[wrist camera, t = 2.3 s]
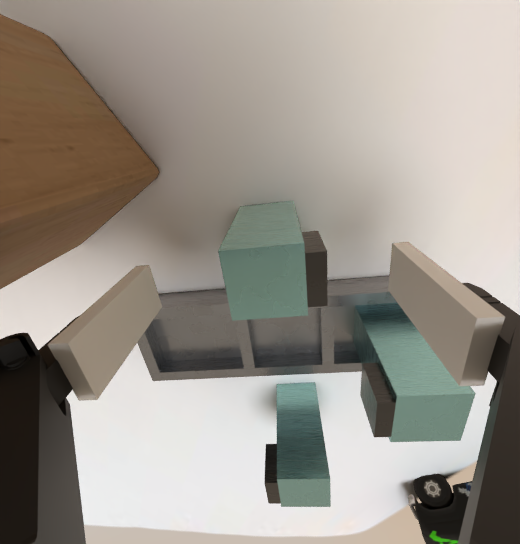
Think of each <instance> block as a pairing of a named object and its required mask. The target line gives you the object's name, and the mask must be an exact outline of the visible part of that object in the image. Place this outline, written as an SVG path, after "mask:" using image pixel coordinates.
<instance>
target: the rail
mask: <svg viewBox="0 0 520 544" xmlns="http://www.w3.org/2000/svg"><path fill="white" fill-rule="evenodd" d="M388 286H389V276H380V277H368V278H355V279H342V280H330V281H327V295H328V306H321V307H308V316H293V317H279V318H264V319H249V320H235V321H232V317H231V312H230V307H229V302H228V297H227V292H226V289H216V290H204V291H191V292H178V293H166V294H158V295H159V298H160V301H161V304H162V308H161V309H160V311H159V312H158V313H157V315H156V316H155V318H154V319H153V321H152V322H151V323H150V325H149V326H148V328H147V329H146V331H145V332H144V333H143V335H142V336H141V338H140V339H139V341H138V342H137V343H138V345H139V348H140V350H141V353H142V355H143V358H144V360H145V363H146V365H147V368H148V370H149V373H150V375H151V378H152V380H153V381H161V380H183V379H205V378H227V377H248V376H270V375H292V374H314V373H336V372H357V371H362V378H361V398H362V401H363V404H364V408H365V411H366V414H367V417H368V420H369V423H370V426H371V429H372V432H373V435H374V437H389V439H390V442H412V441H460V440H461V437H462V434H463V431H464V428H465V425H466V421H467V418H468V415H469V412H470V409H471V406H472V403H473V399H474V396H475V392H474V391H473V390H472V388H471V387H470V386H459V385H458V384H457V382H456V381H455V380H454V378H453V377H452V375H451V374H450V373H449V371H448V370H447V369H446V367H445V366H444V365H443V363H442V362H441V361H440V359H439V358H438V357H437V355H436V354H435V353H434V351H433V350H432V349H431V347H430V346H429V344H428V343H427V342H426V340H425V339H424V338H423V336H422V335H421V334H420V332H419V331H418V330H417V328H416V327H415V326H414V324H413V323H412V322H411V320H410V319H409V318H408V316H407V315H406V314H405V312H404V311H403V309H402V308H401V307H400V305H399V304H398V303H397V301H396V300H395V299H394V297H393V296H392V295H391V293H390V292H389V291H388Z"/></svg>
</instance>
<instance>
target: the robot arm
mask: <svg viewBox="0 0 520 544" xmlns="http://www.w3.org/2000/svg"><path fill="white" fill-rule="evenodd" d="M388 291H389V292H390V293H391V295H392V296H393V297H394V299H395V300H396V301H397V303H398V304H399V305H400V307H401V308H402V309H403V311H404V312H405V314H406V315H407V316H408V318H409V319H410V320H411V322H412V323H413V324H414V326H415V327H416V328H417V330H418V331H419V332H420V334H421V335H422V336H423V338H424V339H425V340H426V342H427V343H428V344H429V346H430V347H431V349H432V350H433V351H434V353H435V354H436V355H437V357H438V358H439V359H440V361H441V362H442V363H443V365H444V366H445V367H446V369H447V370H448V371H449V373H450V374H451V375H452V377H453V378H454V380H455V381H456V382H457V384H458V385H459V386H481V385H484V384H485V380H486V377H487V374H488V371H489V373H490V374H491V375H492V376H493V377H494V378H495V379H496V380H497V383H496V386H495V389H494V392H493V395H492V398H491V401H490V404H489V406H490V410H489V415H488V419H487V423H486V427H485V431H484V435H483V440H482V444H481V448H480V452H479V456H478V460H477V465H476V469H475V473H474V478H473V481H472V486H471V490H470V494H469V498H468V502H467V506H466V511H465V515H464V519H463V523H462V527H461V531H460V536H459V540H458V544H520V315H518V314H517V313H515V312H514V311H513V310H511V309H510V308H508V307H507V306H506V305H504V304H503V303H500V301H499V300H497V299H496V298H495V297H492V295H490V294H489V293H488V292H486V291H485V290H483V289H482V288H480V287H477V286H475V285H472V284H470V283H461V282H459V281H458V280H457V279H456V278H454V277H453V276H452V275H450V274H449V273H448V272H446V271H445V270H444V269H443V268H441V267H440V266H439V265H437V264H436V263H435V262H433V261H432V260H431V259H430V258H428V257H427V256H426V255H424V254H423V253H422V252H421V251H419V250H418V249H417V248H415V247H414V246H413V245H411V244H410V243H409V242H400V243H392V252H391V263H390V275H389V286H388ZM161 308H162V304H161V301H160V298H159V295H158V292H157V288H156V285H155V282H154V279H153V276H152V273H151V269H150V266H149V265H144V266H136V267H135V268H134V269H132V270H131V271H130V272H129V273H128V274H127V275H126V276H125V277H123V278H122V279H121V280H120V281H119V282H118V283H117V284H115V285H114V286H113V287H112V288H111V289H110V290H109V291H108V292H106V293H105V294H104V295H103V296H102V297H101V298H100V299H98V300H97V301H96V302H95V303H94V304H93V305H92V306H91V307H89V308H88V309H87V310H86V311H85V312H84V313H83V314H81V315H80V316H78V317H77V318H75V319H74V320H73V321H72V322H70V323H69V324H68V325H67V327H65V328H64V329H62V330H61V331H60V333H58V334H57V335H56V336H54V337H53V338H52V339H51V340H50V341H49V342H48V343H46V344H45V345H44V346H43V347H42V348H41V349H40V350H38V349H37V348H36V346H35V344H34V343H33V341H32V339H31V337H30V336H29V334H28V333H18V334H14V335H10V336H7V337H5V338H3V339H0V544H86V541H85V533H84V523H83V515H82V506H81V497H80V489H79V480H78V471H77V463H76V454H75V445H74V437H73V428H72V419H71V411H70V404H69V402H68V400H67V399H66V397H67V395H68V394H69V393H70V392H71V391H72V389H73V391H74V393H75V395H76V396H77V398H78V400H97V399H98V398H99V396H100V395H101V394H102V392H103V391H104V389H105V388H106V386H107V385H108V384H109V382H110V381H111V379H112V378H113V376H114V375H115V374H116V372H117V371H118V369H119V368H120V366H121V365H122V364H123V362H124V361H125V359H126V358H127V356H128V355H129V353H130V352H131V351H132V349H133V348H134V346H135V345H136V343H137V342H138V341H139V339H140V338H141V336H142V335H143V333H144V332H145V331H146V329H147V328H148V326H149V325H150V323H151V322H152V321H153V319H154V318H155V316H156V315H157V313H158V312H159V311H160V309H161Z"/></svg>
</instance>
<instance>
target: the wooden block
mask: <svg viewBox="0 0 520 544" xmlns="http://www.w3.org/2000/svg"><path fill="white" fill-rule="evenodd" d="M158 174H159V171H158V169H157V167H156V166H155V165H154V163H153V162H152V161H151V160H150V159H149V157H148V156H147V155H146V154H145V152H144V151H143V150H142V149H141V148H140V146H139V145H138V144H137V143H136V142H135V140H134V139H133V138H132V137H131V135H130V134H129V133H128V132H127V131H126V129H125V128H124V127H123V126H122V124H121V123H120V122H119V121H118V120H117V118H116V117H115V116H114V115H113V114H112V112H111V111H110V110H109V109H108V107H107V106H106V105H105V104H104V103H103V101H102V100H101V99H100V98H99V96H98V95H97V94H96V93H95V92H94V90H93V89H92V88H91V87H90V86H89V84H88V83H87V82H86V81H85V79H84V78H83V77H82V76H81V75H80V73H79V72H78V71H77V70H76V68H75V67H74V66H73V65H72V64H71V62H70V61H69V60H68V59H67V58H66V56H65V55H64V54H63V53H62V51H61V50H60V49H59V48H58V47H57V45H56V44H55V43H54V42H53V40H52V39H51V38H50V37H48V36H47V35H45V34H44V33H42V32H39V31H37V30H35V29H32V28H30V27H28V26H26V25H23V24H21V23H19V22H17V21H14V20H12V19H10V18H7V17H5V16H3V15H1V14H0V289H1V288H3V287H5V286H7V285H9V284H10V283H12V282H14V281H16V280H18V279H19V278H21V277H23V276H25V275H27V274H28V273H30V272H32V271H34V270H36V269H37V268H39V267H41V266H43V265H45V264H46V263H48V262H50V261H52V260H54V259H55V258H57V257H59V256H61V255H62V254H64V253H66V252H68V251H70V250H71V249H73V248H75V247H77V246H79V245H80V244H82V243H83V242H84V241H85V240H86V239H87V238H88V237H90V236H91V235H92V234H93V233H94V232H95V231H96V230H98V229H99V228H100V227H101V226H102V225H103V224H104V223H106V222H107V221H108V220H109V219H110V218H111V217H112V216H114V215H115V214H116V213H117V212H118V211H119V210H120V209H122V208H123V207H124V206H125V205H126V204H127V203H128V202H130V201H131V200H132V199H133V198H134V197H135V196H136V195H138V194H139V193H140V192H141V191H142V190H143V189H144V188H146V187H147V186H148V185H149V184H150V183H151V182H152V181H153V180H155V179H156V178H157V176H158Z"/></svg>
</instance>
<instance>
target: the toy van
mask: <svg viewBox="0 0 520 544" xmlns="http://www.w3.org/2000/svg"><path fill="white" fill-rule="evenodd" d="M471 486H472V481H471V482H466V483H461V484H456V485H453V491H454V493H452V490H451V487H450V485H449V484H448V482H447V481H446V479H445V478H444V477H442V476H441V475H439V474H433V475H426V476H422V477H419V478H417V479H415V482H414V488H415V492H416V494H417V496H418V497H419V499H420V501H421V502H422V503H418V501H417V500H416V499H415V497H414V496H413V495H409V496H408V499H409V506H410V508H411V510H412V512H413V514H414V516H415V518H416V519H417V520H418V521H419V524H420V527H421V531H422V535H423V537H424V540H425V542H426V544H458V540H459V536H460V531H461V527H462V523H463V519H464V515H465V511H466V506H467V502H468V498H469V494H470V490H471ZM413 506H415V509H416V511H415V509H414V507H413Z"/></svg>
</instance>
